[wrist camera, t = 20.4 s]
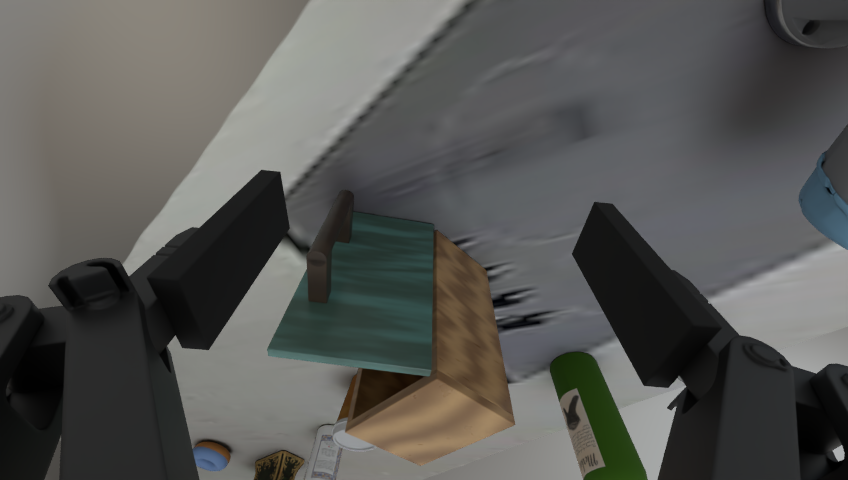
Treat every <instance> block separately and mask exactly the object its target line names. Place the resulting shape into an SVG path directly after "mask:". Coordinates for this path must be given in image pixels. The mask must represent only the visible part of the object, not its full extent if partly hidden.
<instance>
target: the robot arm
mask: <svg viewBox="0 0 848 480" xmlns="http://www.w3.org/2000/svg"><path fill="white" fill-rule="evenodd" d="M765 9H766V15H767V18H768V21H769V24H770V26H771V28H772V29H773V31H774V32H775V33H776V34H777V35H778V36H779V37H780V38H782V39H783V40H785V41H787V42H788V43H791V44H794V45H799V46H806V47H815V48H836V47H843V46H847V45H848V0H765ZM799 203H800V206H801V208H802V213H803V214H804V216H805V217H806V218H807V220H808V221H809V222H810V223H811V224H812V225H813V226H814V227H815V228H816V229H817V230H819V231H820V232H821V233H822V234H824V235H825V236H826V237H828V238H829V239H831V240H832V241H834V242H835V243H837V244H839V245H840V246H842V247H843V248H845V249H847V250H848V125H847V126H846V127H845V128H844V130H843V131H842V132H841V134H840V135H839V136H838V138H837V139H836V140H835V141H834V143H833V144H832V145H831V147H830V148H829V149H828V150H827V151H825V152H824V153H822V155H821V156H820V157H819V159H818V162H817V167H816V168H815V170H814V171H813V173H812V174H811V176H810V177H809V179H808V180H807V182H806V183H805V185H804V186H803V188H802V189H801V191H800V194H799ZM289 228H290V227H289V221H288V215H287V209H286V203H285V197H284V191H283V185H282V179H281V174H280V172H276V171H266V170H261V171H260V172H259V173H258V174H257V175H256V176H255V177H253V178H252V179H251V180H250V181H249V182H248V183H247V184H246V185H245V186H244V187H243V188H242V189H241V190H240V191H238V192H237V193H236V194H235V195H234V196H233V197H232V198H231V199H230V200H229V201H228V202H227V203H226V204H225V205H223V206H222V207H221V208H220V209H219V210H218V211H217V212H216V213H215V214H214V215H213V216H212V217H211V218H210V219H208V220H207V221H206V222H205V223H204V224H203V225H202V226H201V227H200V228H194V227H192V228H190V229H188V230H186V231H184V232H182V233H180V234H178V235H176V236H175V237H174V238H172V239H171V240H170V241H169V242H168V243H167V244H166V245H165V247H162V248H161V249H160V250H159V251H158V252H157V253H156V255H153V256H152V257H151V258H150V259H149V260H147V261H146V262H145V263H144V264H143V265H142V266H141V267H139V268H138V269H137V270H136V271H135V272H134V273H133V274H131V275H130V276H128V275H127V273H126V271H125V269H124V267H123V266H122V264H121V263H120V261H118V260H115V259H112V258H98V259H92V260H87V261H84V262H81V263H78V264H75V265H72V266H70V267H68V268H66V269H65V270H62V271H61V272H59V273H58V274H57V275H56V276H54V277H53V278H52V279H51V281H50V283H49V285H48V286H49V287H50V289H51V290H52V291H53V293H54V294H55V295H56V297H57V298H58V299H59V301H60V302H61V303H62V305H63V306H58V307H50V308H42V309H38V308H37V307H36V306H35V305H34V303H33V302H32V301H31V300H30V299H29V298H28V297H25V296H20V295H16V296H5V297H0V480H44V479H45V476H46V474H47V471H48V468H49V466H50V463H51V460H52V457H53V455H54V452H55V450H56V447H57V444H58V442H59V439H60V436H61V455H60V479H59V480H199V476H198V471H197V467H196V462H195V458H194V454H193V449H192V445H191V440H190V436H189V432H188V427H187V423H186V418H185V414H184V410H183V405H182V401H181V396H180V392H179V388H178V383H177V379H176V374H175V370H174V366H173V361H172V357H171V353H170V351H169V349H168V347H167V345H168V344H169V343H170V341H171V340H172V339H173V337H174V336H175V335H176V337H177V339H178V340H179V342H180V344H181V346H182V348H190V349H202V350H209V349H210V347H211V346H212V344H213V343H214V341H215V340H216V338H217V337H218V335H219V334H220V332H221V331H222V329H223V328H224V326H225V325H226V323H227V322H228V320H229V319H230V317H231V316H232V314H233V313H234V311H235V309H236V308H237V306H238V305H239V303H240V302H241V300H242V299H243V297H244V296H245V294H246V293H247V291H248V290H249V288H250V287H251V285H252V284H253V282H254V281H255V279H256V278H257V276H258V275H259V273H260V272H261V270H262V269H263V267H264V266H265V264H266V263H267V261H268V260H269V258H270V257H271V255H272V254H273V252H274V251H275V249H276V248H277V246H278V245H279V243H280V242H281V240H282V239H283V237H284V236H285V234H286V233H287V231H288V230H289ZM572 255H573V257H574V259H575V260H576V262H577V264H578V266H579V268H580V270H581V271H582V273H583V275H584V277H585V279H586V281H587V282H588V284H589V286H590V288H591V290H592V292H593V293H594V295H595V297H596V299H597V301H598V303H599V304H600V306H601V308H602V310H603V312H604V314H605V315H606V317H607V319H608V321H609V323H610V325H611V326H612V328H613V330H614V332H615V334H616V336H617V337H618V339H619V341H620V343H621V345H622V347H623V348H624V350H625V352H626V354H627V356H628V358H629V359H630V361H631V363H632V365H633V367H634V369H635V370H636V372H637V374H638V376H639V378H640V380H641V381H642V383H643V385H644V386H653V387H665V388H669V386H670V385H671V384H672V383H673V382H674V381H675V380H676V379H677V378H678V376H680V377H681V379H682V380H683V382H684V383H685V385H686V388H685V389H684V390H683V391H682V392H681V393H680V394H679V395H678V396H677V397H676V398H675V399H674V400H673V401H672V402H671V403H670V405H669V406H668V407H667V408H668V409H670V410H672V409H673V408H674V407H675V406H677V408H676V412H675V415H674V419H673V423H672V427H671V431H670V434H669V438H668V442H667V446H666V450H665V453H664V457H663V462H662V465H661V469H660V472H659V476H658V480H848V366H844V365H840V364H829V365H827V366H826V367H825V368H823V369H822V370H821V371H819V372H818V373H817V374H816V373H813V372H809V371H806V370H803V369H800V368H797V367H793V366H791V364H790V363H789V362H788V361H787V360H786V359H785V357H784V356H783V355H781V354H780V353H779V352H777V351H776V350H775V349H774V348H772V347H770V346H769V345H767V344H765V343H763V342H761V341H759V340H756V339H754V338H751V337H746V336H740V335H739V334H738V333H737V332H736V331H735V330H734V329H733V328H732V327H731V325H730V324H729V323H728V322H727V321H726V320H725V319H724V318H723V317H722V316H721V315H720V313H719V312H718V311H717V310H716V309H715V308H714V307H713V306H712V305H711V304H709V303H708V300H707V299H706V298H705V297H704V296H703V295H702V294H700V292H699V291H698V290H697V288H696V287H695V286H694V285H693V284H692V283H691V282H690V281H689V280H688V279H686V278H685V277H683V276H682V275H680V274H679V273H678V272H676V271H675V270H671V269H670V268H669V267H668V266H667V265H666V264H665V263H664V261H663V260H662V259H661V258H660V257H659V256H658V255H657V254H656V252H655V251H654V250H653V249H652V248H651V247H650V246H649V245H648V243H647V242H646V241H645V240H644V239H643V238H642V237H641V236H640V234H639V233H638V232H637V231H636V230H635V229H634V228H633V227H632V225H631V224H630V223H629V222H628V221H627V220H626V219H625V218H624V216H623V215H622V214H621V213H620V212H619V211H618V210H617V209H616V207H615V206H614V205H613V204H609V203H599V202H594V204H593V206H592V209H591V211H590V213H589V216H588V218H587V220H586V223H585V225H584V227H583V230H582V232H581V234H580V236H579V239H578V241H577V243H576V246H575V248H574V250H573V253H572ZM841 445H842V446H843V449H844V452H845V457H844V460H842V461H839V462H838V461H837V459H836V458H835V455H834V453H833V451H832V450H834V449H835V448H837V447H839V446H841Z"/></svg>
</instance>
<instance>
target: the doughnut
mask: <svg viewBox="0 0 848 480" xmlns="http://www.w3.org/2000/svg"><path fill="white" fill-rule="evenodd" d="M193 454H194V458H195V462H196V465H197V466H198V467H200V468H202V469H205V470H209V471H220V470H222V469H224V468H225V467H226V466H227V464H228V463H229V461H230V453H229V451H228V450H227V449H226V448H224V447H223V446H221V445H219V444H217V443H214V442H201V443H199V444H197V445H196V446H195V447H194V448H193Z"/></svg>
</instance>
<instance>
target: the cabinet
mask: <svg viewBox="0 0 848 480" xmlns="http://www.w3.org/2000/svg"><path fill="white" fill-rule="evenodd" d="M514 425H515V421H514V416H513V410H512V405H511V400H510V394H509V389H508V384H507V379H506V373H505V368H504V363H503V357H502V352H501V347H500V341H499V336H498V331H497V325H496V320H495V315H494V309H493V304H492V299H491V293H490V288H489V283H488V277H487V272H486V270H485V269H484V268H483V267H482V266H480V265H479V264H478V263H477V262H476V261H474V260H473V259H472V258H471V257H469V256H468V255H467V254H466V253H465V252H463V251H462V250H461V249H460V248H458V247H457V246H456V245H455V244H454V243H452V242H451V241H450V240H449V239H447V238H446V237H445V236H444V235H443V234H441V233H440V232H439V231H438V230H436V231H435V232H434V235H433V306H432V370H431V374H430V376H429V377H428V376H421V375H413V374H405V373H397V372H389V371H382V370H374V369H366V368H359V369H358V373H357V378H356V383H355V387H354V392H353V396H352V401H351V406H350V410H349V415H348V420H347V424H346V429H345V433H347V434H349V435H352V436H354V437H356V438H358V439H361V440H363V441H365V442H367V443H370V444H372V445H374V446H377V447H379V448H381V449H383V450H386V451H388V452H390V453H392V454H395V455H397V456H399V457H402V458H404V459H406V460H408V461H411V462H413V463H415V464H417V465H420V466H421V465H424V464H426V463H428V462H431V461H433V460H435V459H438V458H440V457H442V456H444V455H447V454H449V453H451V452H454V451H456V450H458V449H461V448H463V447H465V446H468V445H470V444H472V443H475V442H477V441H479V440H481V439H484V438H486V437H488V436H491V435H493V434H495V433H498V432H500V431H502V430H505V429H507V428H509V427H512V426H514Z"/></svg>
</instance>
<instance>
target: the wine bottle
mask: <svg viewBox="0 0 848 480" xmlns="http://www.w3.org/2000/svg"><path fill="white" fill-rule="evenodd" d="M550 373H551V376H552V379H553V383H554V386H555V389H556V392H557V396H558V399H559V402H560V406H561V409H562V412H563V416H564V419H565V422H566V425H567V429H568V432H569V435H570V438H571V441H572V445H573V448H574V451H575V454H576V458H577V461H578V464H579V467H580V470H581V473H582V477H583V480H648V479H647V475H646V471H645V469H644V467H643V465H642V462H641V460H640V458H639V456H638V453H637V451H636V449H635V447H634V444H633V442H632V440H631V438H630V435H629V433H628V431H627V429H626V427H625V424H624V422H623V420H622V418H621V415H620V413H619V411H618V409H617V406H616V404H615V402H614V400H613V397H612V395H611V393H610V391H609V388H608V386H607V384H606V382H605V380H604V377H603V375H602V373H601V371H600V368H599V366H598V364H597V362H596V360H595V359H594V358H593V357H592V356H591V355H589V354H587V353H583V352H571V353H567V354H564V355H561V356H559V357H558V358H556V359H555V360H554V361H553V362H552V363H551V365H550Z"/></svg>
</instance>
